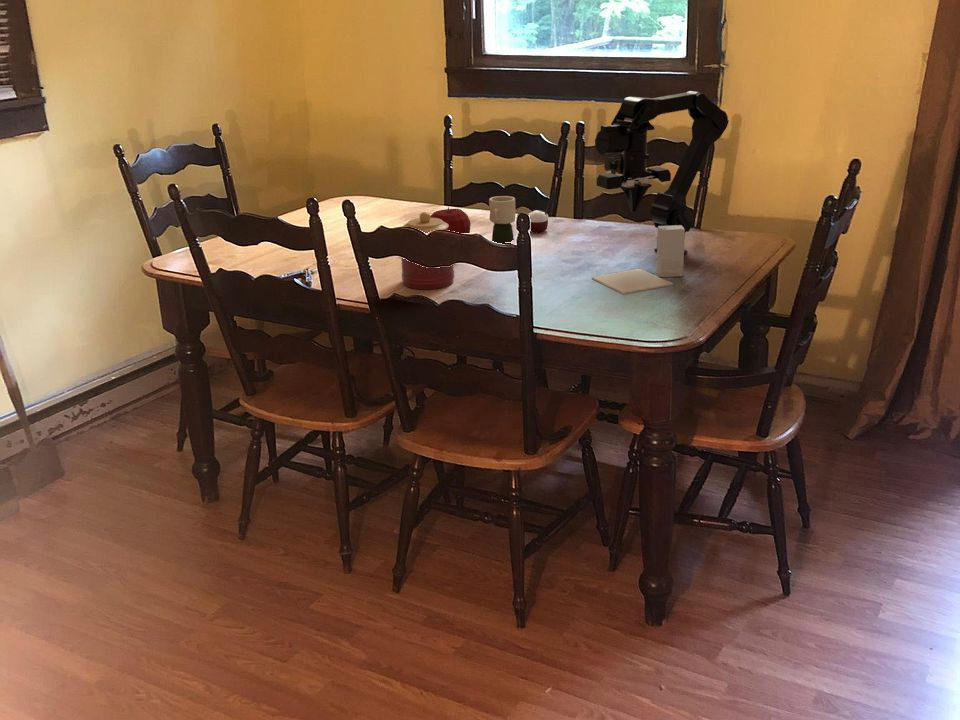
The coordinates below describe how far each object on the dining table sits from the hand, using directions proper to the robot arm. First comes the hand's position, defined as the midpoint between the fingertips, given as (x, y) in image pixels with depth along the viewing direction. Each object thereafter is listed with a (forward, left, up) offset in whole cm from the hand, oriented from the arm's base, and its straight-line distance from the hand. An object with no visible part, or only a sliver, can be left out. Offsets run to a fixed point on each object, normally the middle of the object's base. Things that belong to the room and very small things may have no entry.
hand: (632, 211), depth 238 cm
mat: (+10, +15, -13) cm, 22 cm away
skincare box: (-1, +15, -13) cm, 20 cm away
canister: (+53, -10, -13) cm, 55 cm away
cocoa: (+7, -38, -13) cm, 41 cm away
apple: (+39, -29, -13) cm, 50 cm away
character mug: (+22, -31, -13) cm, 40 cm away
